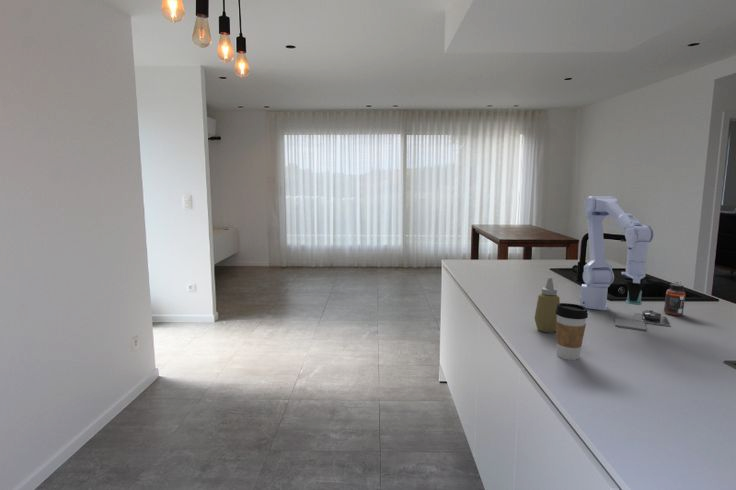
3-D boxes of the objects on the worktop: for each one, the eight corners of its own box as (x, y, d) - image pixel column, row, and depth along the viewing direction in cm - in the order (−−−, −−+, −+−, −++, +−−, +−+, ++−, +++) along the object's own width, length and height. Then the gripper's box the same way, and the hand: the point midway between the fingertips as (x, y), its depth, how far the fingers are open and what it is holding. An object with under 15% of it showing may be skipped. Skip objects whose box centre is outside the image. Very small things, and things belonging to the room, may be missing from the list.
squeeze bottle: (558, 327, 147) (562, 276, 145) (560, 335, 140) (564, 281, 137) (533, 324, 150) (536, 274, 147) (534, 332, 142) (537, 279, 140)
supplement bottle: (685, 316, 159) (689, 287, 158) (666, 315, 161) (670, 285, 159) (679, 312, 165) (683, 283, 163) (661, 310, 167) (665, 282, 165)
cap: (623, 300, 152) (625, 286, 151) (639, 301, 150) (640, 287, 150) (627, 304, 147) (629, 289, 146) (643, 305, 146) (645, 290, 145)
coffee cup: (546, 350, 127) (550, 301, 125) (573, 349, 128) (577, 301, 126) (561, 362, 119) (565, 310, 117) (590, 361, 120) (595, 309, 118)
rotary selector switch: (635, 321, 154) (636, 313, 153) (634, 314, 162) (634, 306, 162) (669, 326, 149) (670, 318, 148) (665, 318, 158) (666, 310, 157)
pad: (615, 326, 149) (615, 324, 148) (614, 319, 156) (615, 317, 156) (646, 331, 144) (646, 329, 144) (644, 323, 152) (644, 321, 152)
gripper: (621, 256, 155) (618, 292, 157) (624, 263, 142) (620, 302, 144) (644, 258, 152) (640, 295, 154) (649, 265, 139) (645, 305, 141)
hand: (632, 299), depth 149 cm, fingers closed on cap, 4 cm apart
